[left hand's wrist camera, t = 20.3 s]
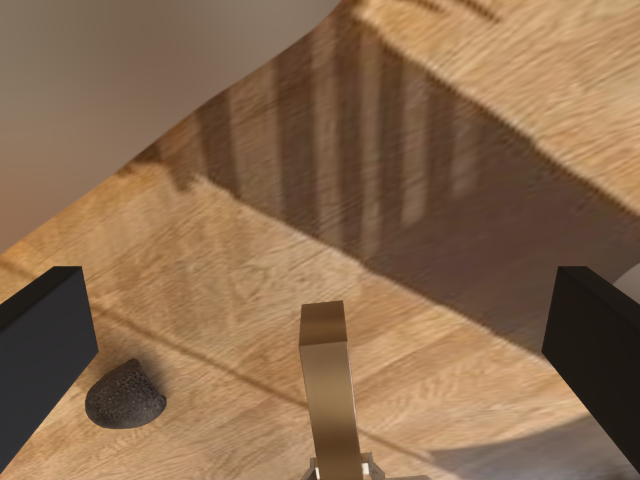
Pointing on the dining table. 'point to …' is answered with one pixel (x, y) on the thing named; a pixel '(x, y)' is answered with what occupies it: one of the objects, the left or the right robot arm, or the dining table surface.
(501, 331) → the dining table surface
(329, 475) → the bar
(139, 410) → the stone
